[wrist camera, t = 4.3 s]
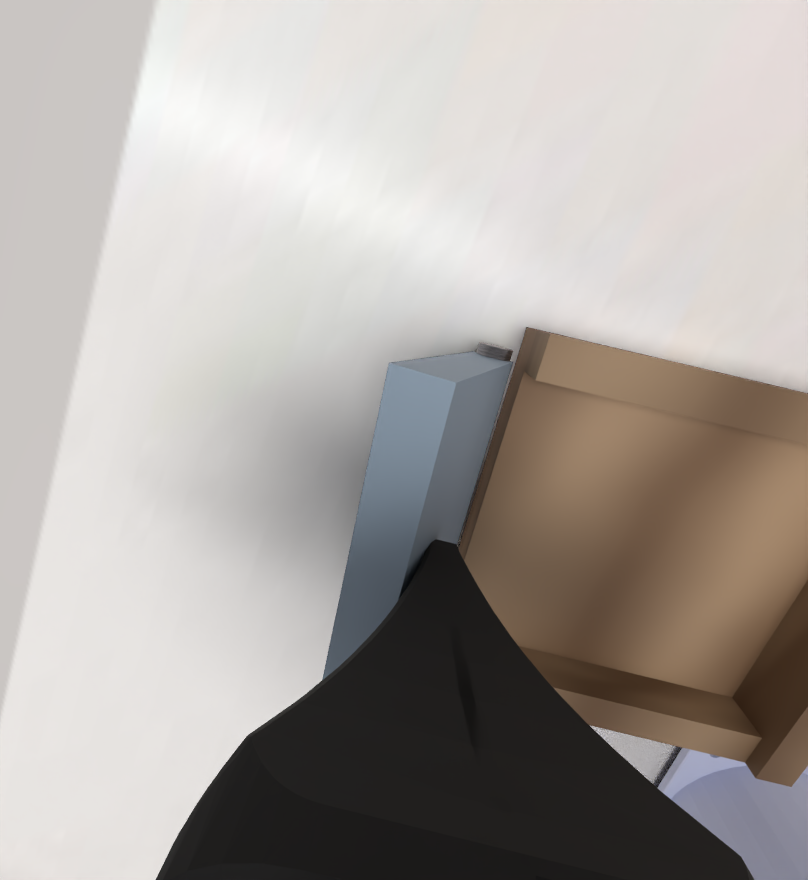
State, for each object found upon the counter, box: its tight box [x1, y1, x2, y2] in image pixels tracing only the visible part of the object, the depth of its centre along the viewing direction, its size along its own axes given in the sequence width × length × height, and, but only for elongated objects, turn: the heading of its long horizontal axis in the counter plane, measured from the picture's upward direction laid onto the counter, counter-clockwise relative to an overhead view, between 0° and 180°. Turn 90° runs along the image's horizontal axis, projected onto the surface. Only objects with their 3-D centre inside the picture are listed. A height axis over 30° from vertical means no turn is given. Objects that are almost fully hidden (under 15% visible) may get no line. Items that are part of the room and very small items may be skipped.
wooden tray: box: [458, 327, 808, 787], centre depth 14 cm, size 12×12×4 cm
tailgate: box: [322, 342, 513, 680], centre depth 11 cm, size 1×11×6 cm, turn 167°
